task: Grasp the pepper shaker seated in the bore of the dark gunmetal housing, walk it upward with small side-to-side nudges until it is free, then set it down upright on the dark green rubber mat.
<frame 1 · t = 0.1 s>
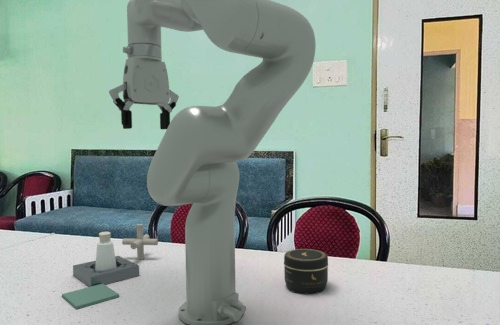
hand: (146, 128, 92), 37 cm above the table, tool pointing down, fingers open, 9 cm apart
pipe connector: (140, 259, 112), on the table
housing: (106, 275, 98), on the table
mat: (90, 296, 85), on the table
pepper shaker: (106, 276, 98), resting in housing
jar: (305, 287, 89), on the table
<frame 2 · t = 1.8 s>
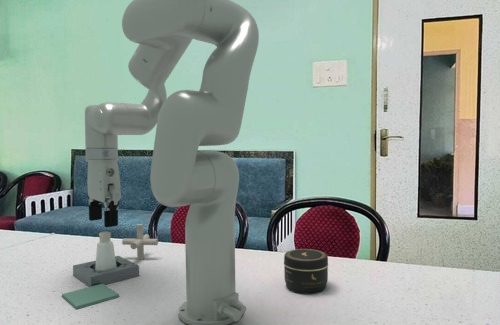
hand: (103, 223, 98), 13 cm above the table, tool pointing down, fingers open, 9 cm apart
nothing on the table moved.
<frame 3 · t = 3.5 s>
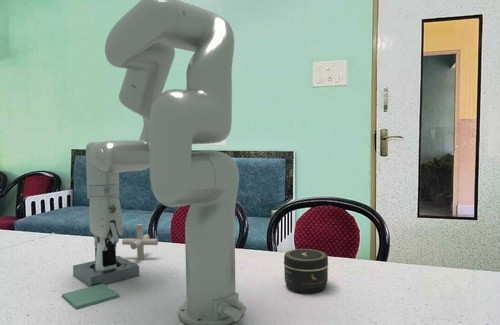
hand: (105, 262, 98), 3 cm above the table, tool pointing down, fingers closed on pepper shaker, 3 cm apart
pepper shaker: (106, 276, 98), resting in housing, touching gripper
everything else where it was.
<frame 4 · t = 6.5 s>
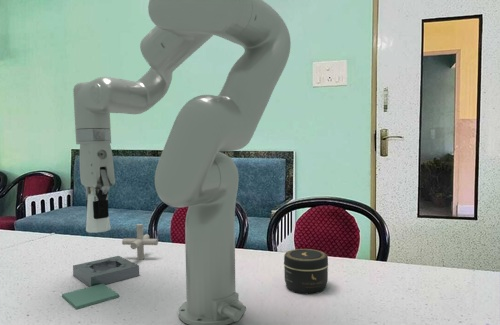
hand: (97, 216, 90), 17 cm above the table, tool pointing down, fingers closed on pepper shaker, 3 cm apart
pepper shaker: (98, 231, 90), point 13 cm above the table, touching gripper
everything else where it was.
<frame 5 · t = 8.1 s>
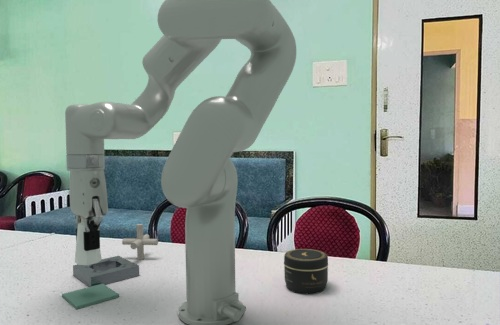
hand: (88, 246, 84), 11 cm above the table, tool pointing down, fingers closed on pepper shaker, 3 cm apart
pepper shaker: (88, 262, 84), point 8 cm above the table, touching gripper
everything else where it was.
when the fingers open (5 cm above the table, at t = 9.5 s): pepper shaker stays where it is, resting on mat.
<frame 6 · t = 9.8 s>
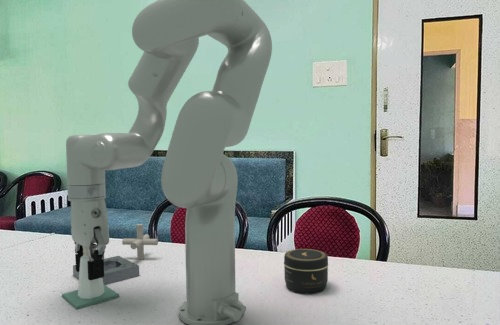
hand: (89, 273, 84), 5 cm above the table, tool pointing down, fingers open, 6 cm apart
pepper shaker: (91, 295, 84), resting on mat
everything else where it was.
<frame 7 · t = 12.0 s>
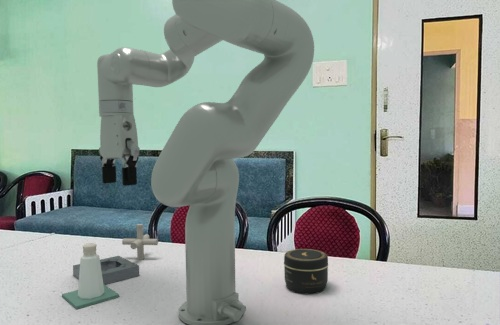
hand: (119, 183, 90), 24 cm above the table, tool pointing down, fingers open, 9 cm apart
nothing on the table moved.
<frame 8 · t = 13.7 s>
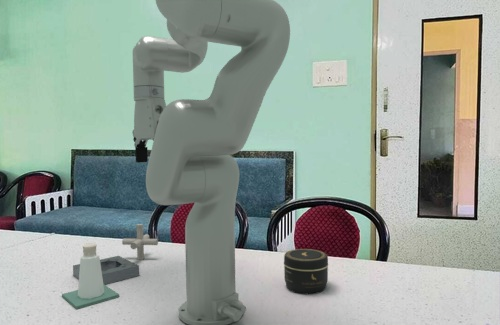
hand: (150, 162, 99), 28 cm above the table, tool pointing down, fingers open, 9 cm apart
nothing on the table moved.
at the end: pepper shaker inside the target area on the mat (0.3 cm from its centre), point 0.4 cm above the mat's base; pepper shaker tilted 0°; the gripper is holding nothing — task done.
